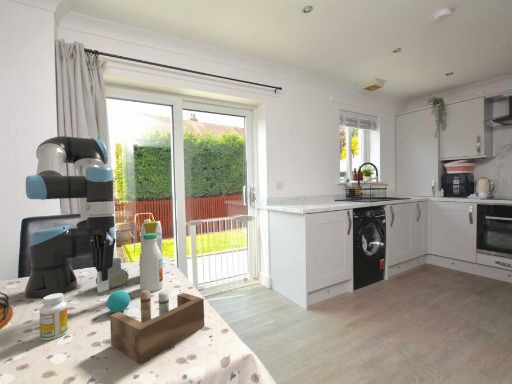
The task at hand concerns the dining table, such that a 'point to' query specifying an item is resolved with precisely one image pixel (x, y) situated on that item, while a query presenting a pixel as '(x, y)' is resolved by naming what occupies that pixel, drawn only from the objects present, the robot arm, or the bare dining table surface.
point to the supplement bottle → (53, 317)
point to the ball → (118, 301)
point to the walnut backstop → (156, 329)
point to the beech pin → (145, 306)
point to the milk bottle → (151, 264)
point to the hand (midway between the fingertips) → (103, 290)
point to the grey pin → (163, 302)
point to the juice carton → (152, 228)
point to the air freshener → (116, 274)
